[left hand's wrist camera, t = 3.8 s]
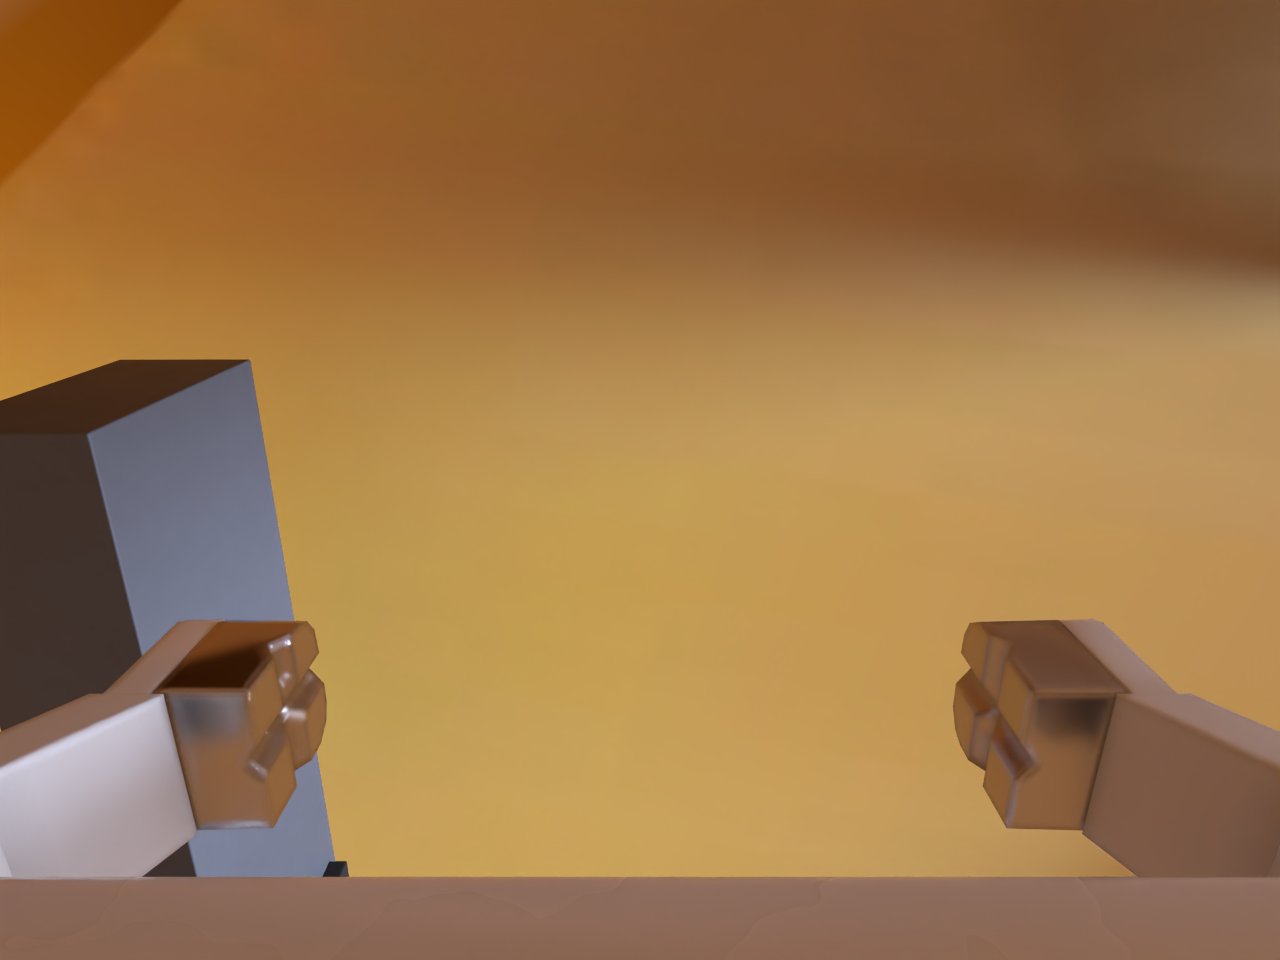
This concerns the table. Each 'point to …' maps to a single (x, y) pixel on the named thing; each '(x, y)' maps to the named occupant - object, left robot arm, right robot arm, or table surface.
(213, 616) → the bar
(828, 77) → the table surface
